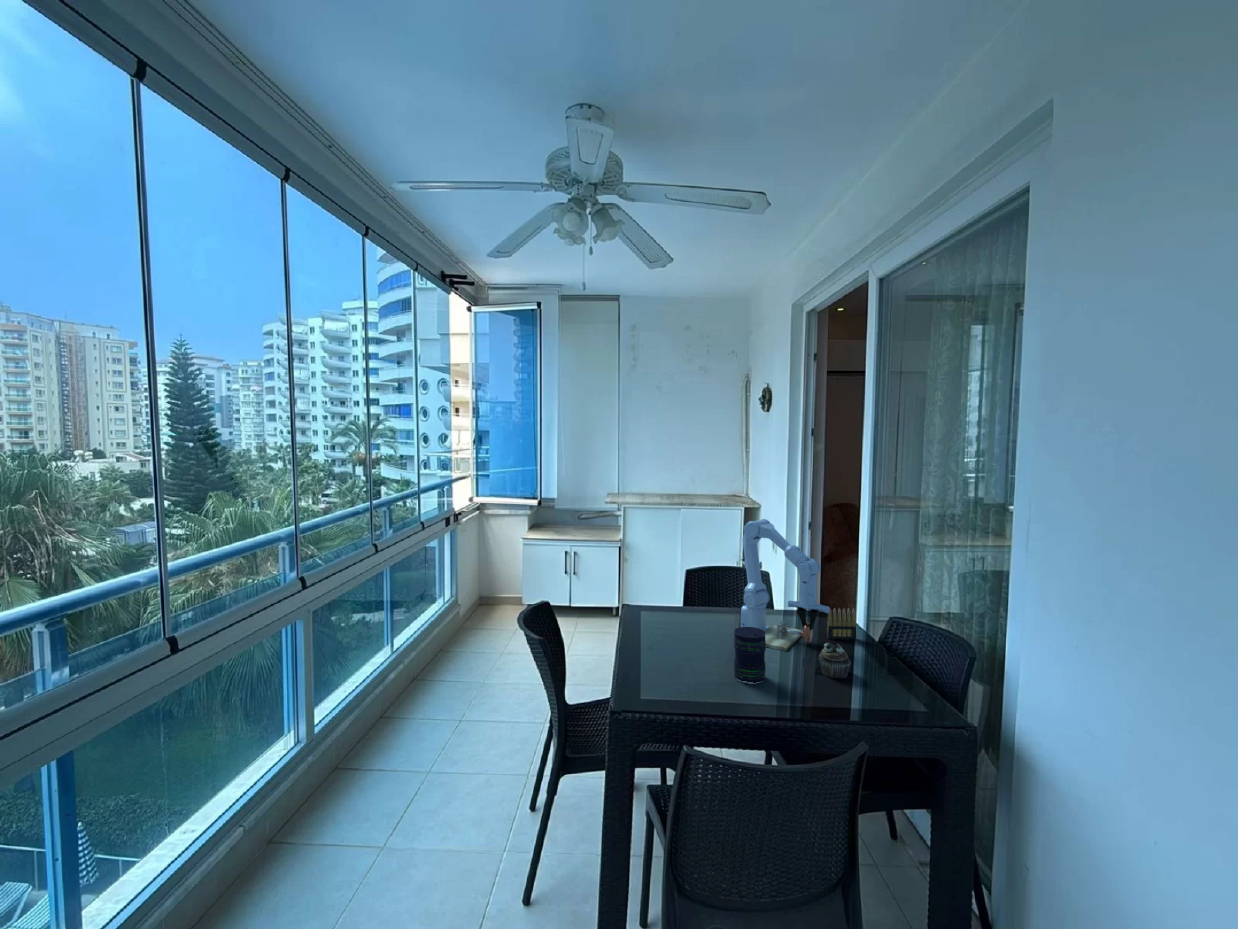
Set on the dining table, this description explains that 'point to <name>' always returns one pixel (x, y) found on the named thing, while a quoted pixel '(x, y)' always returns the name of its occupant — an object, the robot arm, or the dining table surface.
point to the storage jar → (749, 654)
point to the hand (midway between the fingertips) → (807, 628)
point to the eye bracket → (780, 637)
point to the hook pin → (806, 632)
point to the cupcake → (834, 661)
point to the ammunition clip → (841, 625)
